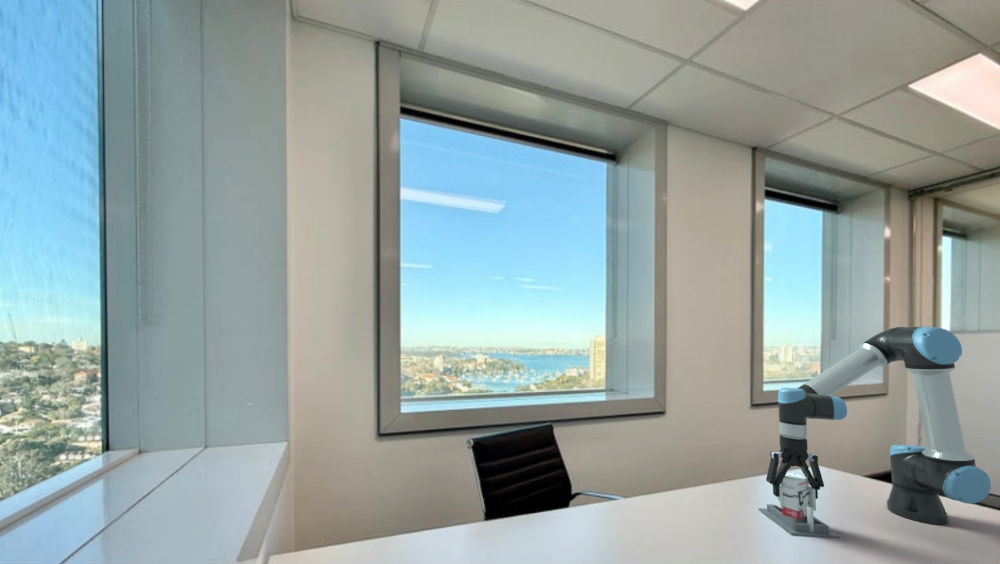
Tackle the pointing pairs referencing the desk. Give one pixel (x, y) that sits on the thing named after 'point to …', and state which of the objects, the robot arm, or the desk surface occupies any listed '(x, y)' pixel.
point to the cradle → (799, 523)
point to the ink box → (795, 495)
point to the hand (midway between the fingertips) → (795, 507)
